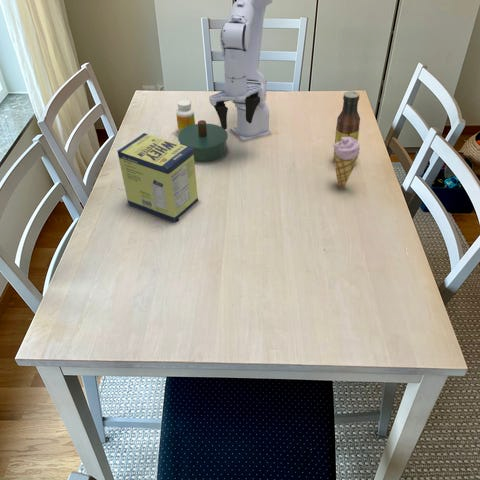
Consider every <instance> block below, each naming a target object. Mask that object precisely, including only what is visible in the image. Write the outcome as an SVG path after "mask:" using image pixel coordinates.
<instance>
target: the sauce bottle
mask: <svg viewBox="0 0 480 480" xmlns="http://www.w3.org/2000/svg"><path fill="white" fill-rule="evenodd" d="M342 100H343V103H342V110H341V112H340V113H339V115H338V116H337V119H336V127H335V134H334V144H335V143H337V142H340V141H341V137H351V138H354V139H356V140H357V142H358V143H359V135H360V125H361V117H360V114H359V111H358V105H359V100H360V93H359V92H357V91H355V90H349V91H345V92H344V93H343V97H342ZM334 153H335V147H333V162H334V163H335V155H334Z"/></svg>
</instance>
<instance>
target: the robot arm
mask: <svg viewBox="0 0 480 480" xmlns="http://www.w3.org/2000/svg"><path fill="white" fill-rule="evenodd" d="M272 3H273V0H236V1H235V2H234V3H233V4H232V6H231V9H230V13H229V15H228V18H227V21H226V22H225V24H222V25H221V28H220V34H219V35H220V47H221V54H222V57H223V63H224V65H223V66H224V67H223V69H224V89H223V90H221V91H219V92H217V93H215V94H212V95H209V104H210V105H211V106H213V108H214V109H215V112H216V114H217V116H218V119H219V122H220V127H222V128H223V129H224V130H227V129H228V119H227V118H228V117H227V116H228V112H229V107H227V106H226V102H230V101H231V103H232V104H234V107H235V108H236V127H232V128H231V131H232V132H234V133H235V134H236V135H237V136H238V137H239V138H240V139H241V140H248V139H252V138H255V137H260V136H263V135H268V134H270V130H269V124H270V110H269V107H268V104H267V103H266V98H267V83H268V81H267V78H266V77H265V76H264V74H263V73H262V72H261V71H260V70H259V69H260V59H261V58H260V57H261V48H262V39H263V27H264V19H265V12H266V10H267V6H269V5H271V4H272Z"/></svg>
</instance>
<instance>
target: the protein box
mask: <svg viewBox="0 0 480 480" xmlns="http://www.w3.org/2000/svg"><path fill="white" fill-rule="evenodd" d="M116 152H117V157H118V161H119V166H120V170H121V176H122V180H123V185H124V190H125V195H126V200H127V203H128V206H131V207H134V208H137V209H139V210H141V211H144V212H147V213H150V214H152V215H155V216H157V217H160V218H162V219H165V220H167V221H170V222H172V223H176V222H178V220H179V218H180V217H182V216H183V215H184V214H185V213H186V212H187V211H189V210H190V209H191V208H192V207H193V206H195V204H196V203H198V202H199V195H198V187H197V186H198V185H197V175H196V166H195V163H196V162H195V161H194V153H193V148H191V147H188V146H184V145H181V144H180V143H177V142H174V141H171V140H168V139H164V138H161V137H158V136H154V135H151V134H148V133H145V132H144V133H142V134H141V135H138V136H137V137H136V138H134V139H133V140H132V141H130V142H129V143H127V144H125V145H124V146H122V147H121V148H119V149H118V150H117V151H116Z"/></svg>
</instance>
